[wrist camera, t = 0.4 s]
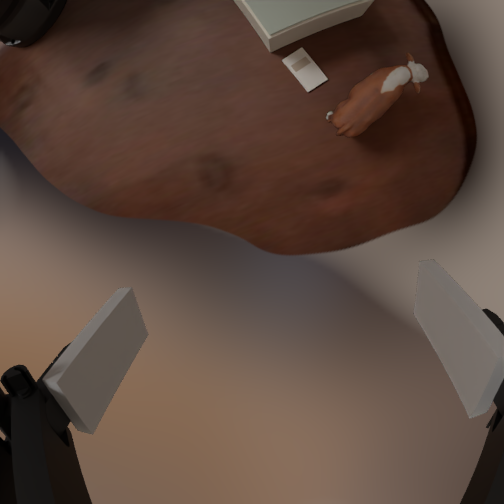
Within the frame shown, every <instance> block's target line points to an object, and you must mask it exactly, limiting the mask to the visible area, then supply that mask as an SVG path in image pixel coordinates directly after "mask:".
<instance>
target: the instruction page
mask: <svg viewBox="0 0 504 504" xmlns="http://www.w3.org/2000/svg"><path fill="white" fill-rule="evenodd" d="M282 61H283V63H284V64H285V65H286V66H287V67H288V69H289V70H290V71H291V72H292V73H293V75H294V76H295V77H296V78H297V79H298V81H299V82H300V83H301V84H302V86H303V87H304V88H305V89H306V91H307V92H309V91H311V90H312V89H314V88H315V87H317V86H318V85H320V84H322V83H323V82H325V81H326V80H328V79H327V77H326V76H325V75H324V73H323V72H322V71H321V70H320V68H319V67H318V66H317V65H316V63H315V62H314V61H313V60H312V59H311V57H310V56H309V55H308V54H307V53H306V51H305V50H304V49H303V48H300V49H299V50H297V51H295V52H294V53H292V54H291V55H289V56H287V57H286V58H284V59H283V60H282Z"/></svg>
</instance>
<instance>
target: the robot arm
mask: <svg viewBox="0 0 504 504" xmlns="http://www.w3.org/2000/svg"><path fill="white" fill-rule="evenodd" d="M65 2H66V0H0V41H1V42H3V43H4V44H6V45H8V46H12V47H25V46H28V45H30V44H32V43H34V42H35V41H37V40H38V39H39V38H40V37H41V36H43V35H44V34H45V33H46V32H47V30H48V29H49V28H50V27H51V26H52V24H53V23H54V22H55V20H56V19H57V17H58V16H59V14H60V12H61V11H62V9H63V7H64V5H65ZM413 314H414V316H415V317H416V319H417V321H418V322H419V324H420V326H421V327H422V329H423V331H424V332H425V334H426V336H427V338H428V339H429V341H430V343H431V345H432V346H433V348H434V350H435V352H436V353H437V355H438V357H439V359H440V361H441V363H442V364H443V366H444V368H445V370H446V372H447V374H448V376H449V378H450V379H451V381H452V383H453V385H454V387H455V389H456V391H457V393H458V395H459V397H460V399H461V401H462V403H463V405H464V407H465V410H466V412H467V414H468V416H469V418H473V417H476V416H478V415H481V414H484V413H486V412H487V411H488V409H489V408H490V406H491V404H492V402H493V401H494V403H495V404H496V406H497V409H496V411H495V413H494V414H493V416H492V418H491V420H490V421H489V423H488V425H487V426H486V428H489V426H490V425H491V426H490V429H489V432H488V436H487V438H486V441H485V445H484V447H483V450H482V453H481V456H480V458H479V461H478V464H477V466H476V469H475V471H474V474H473V476H472V478H471V481H470V483H469V486H468V487H467V490H466V492H465V494H464V496H463V498H462V501H461V503H460V504H504V323H503V321H502V320H501V319H500V318H499V317H498V316H497V315H496V314H495V313H493V312H491V311H490V310H488V309H483V310H481V309H480V308H479V306H478V305H477V304H476V303H475V302H474V301H473V300H472V299H471V297H470V296H469V295H468V294H467V293H466V292H465V291H464V290H463V289H462V288H461V287H460V286H459V284H458V283H457V282H455V280H454V279H453V278H452V277H451V276H450V275H449V274H448V273H447V272H446V271H445V270H444V269H443V268H442V267H441V266H440V265H439V264H438V263H437V262H436V261H435V260H426V261H420V262H419V272H418V281H417V290H416V299H415V306H414V313H413ZM147 336H148V332H147V329H146V326H145V324H144V321H143V318H142V315H141V312H140V310H139V307H138V304H137V301H136V298H135V295H134V292H133V289H132V287H128V288H119V289H118V290H117V291H116V292H115V293H114V294H113V295H112V296H111V297H110V299H109V300H108V301H107V302H106V303H105V304H104V305H103V306H102V308H101V309H100V310H99V311H98V312H97V313H96V314H95V316H94V317H93V318H92V319H91V320H90V321H89V323H88V324H87V325H86V326H85V327H84V328H83V330H82V331H81V332H80V333H79V334H78V335H77V337H76V338H75V339H74V340H73V341H72V342H71V343H69V344H68V345H67V346H65V347H64V348H63V349H62V351H61V352H60V353H59V354H58V357H56V358H55V359H54V361H53V363H51V364H50V365H49V367H48V368H47V369H46V370H45V372H44V373H43V374H42V376H41V377H40V378H39V379H38V381H37V382H35V380H34V379H33V378H32V376H31V374H30V372H29V371H28V370H27V368H26V367H25V366H24V365H16V366H13V367H12V368H10V369H8V370H7V371H6V372H5V373H4V374H3V375H2V377H1V380H0V381H1V383H2V384H3V386H4V387H5V389H6V390H7V392H8V393H9V394H4V392H3V391H2V389H1V388H0V430H1V431H2V432H3V433H4V435H5V436H6V438H5V440H3V439H2V438H1V437H0V504H92V502H91V499H90V497H89V494H88V491H87V488H86V485H85V481H84V478H83V475H82V472H81V469H80V465H79V461H78V458H77V454H76V450H75V447H74V442H73V439H72V434H71V432H70V430H69V428H68V427H67V426H68V424H69V423H70V421H71V422H72V423H73V425H74V426H75V427H76V429H77V430H78V431H81V432H85V433H89V434H93V433H94V431H95V430H96V428H97V426H98V424H99V422H100V420H101V418H102V416H103V415H104V412H105V411H106V409H107V407H108V405H109V403H110V401H111V400H112V398H113V396H114V394H115V392H116V391H117V389H118V387H119V385H120V383H121V382H122V380H123V378H124V376H125V374H126V373H127V371H128V369H129V367H130V366H131V364H132V362H133V360H134V359H135V357H136V355H137V353H138V351H139V350H140V348H141V346H142V345H143V343H144V341H145V340H146V338H147Z"/></svg>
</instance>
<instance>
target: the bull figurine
mask: <svg viewBox="0 0 504 504" xmlns="http://www.w3.org/2000/svg"><path fill="white" fill-rule="evenodd" d="M406 58H407V60H408V62H409V64H408V65H396V66H392V67H387V68H380V69H377V70H376V71H375V72H374V73H371V74H370V76H368V77H366V78H365V79H363V80H362V81H361V82H359V83H358V84H356V85H355V86H354V87H353V88H352V89H351V91H350V93H349V96H348V99H347V100H345V101H342V102H340V103H339V104H338V106H337V107H336V109H335V110H334V112H333V111H329V112H328V113H327V117H326V119H327V122H332V124H333V125H334V126H335V127H336V128H338V129H339V130H338V131H337V133H336V135H337V136H342V135H345V136H346V137H354V136H358V135H360V134H361V133H362V132H363V131H365V130H366V129H367V128H368V127H369V125H370V124H371V123H373V122H374V121H375V120H378V119H379V118H381V117H382V116H383V114H384V113H385V112H386V111H387V110H388V109H389V108H390V107H391V106H392V104H393V103H394V102H395V101H397V100H398V98H399V97H400V95H401V94H402V92H403V90H404V86H405V85H406V84H407V83H409V82H413V84H414V88H415V91H416V93H417V94H419V92H420V89H421V88H420V84H419V82H424V81H425V80H426V79H427V78H428V77H429V76H428V71H427V70H426V69H425V68H424V66H422V65H421V64H415V63H414V59H413V57H412V56H411V55H410V54H409V53H406Z"/></svg>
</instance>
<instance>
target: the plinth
mask: <svg viewBox="0 0 504 504" xmlns="http://www.w3.org/2000/svg"><path fill="white" fill-rule="evenodd" d="M373 1H374V0H234V2H235V3H236V4H237V6H238V7H239V8H240V10H241V11H242V12H243V14H244V15H245V16H246V18H247V19H248V21H249V22H250V24H251V25H252V26H253V28H254V29H255V31H256V32H257V34H258V35H259V37H260V38H261V39H262V41H263V42H264V44H265V45H266V47H267V48H268V50H269V52H270V53H271V52H273V51H275V50H277V49H279V48H282V47H284V46H286V45H288V44H290V43H293V42H295V41H297V40H299V39H302V38H304V37H306V36H309V35H311V34H314V33H316V32H319V31H321V30H324V29H326V28H329V27H331V26H334V25H337V24H340V23H342V22H345V21H348V20H351V19H354V18H357V17H360V16H362V15H363V14H364V13H365V11H366V10H367V9H368V7H369V6H370V5H371V4H372V2H373Z"/></svg>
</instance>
